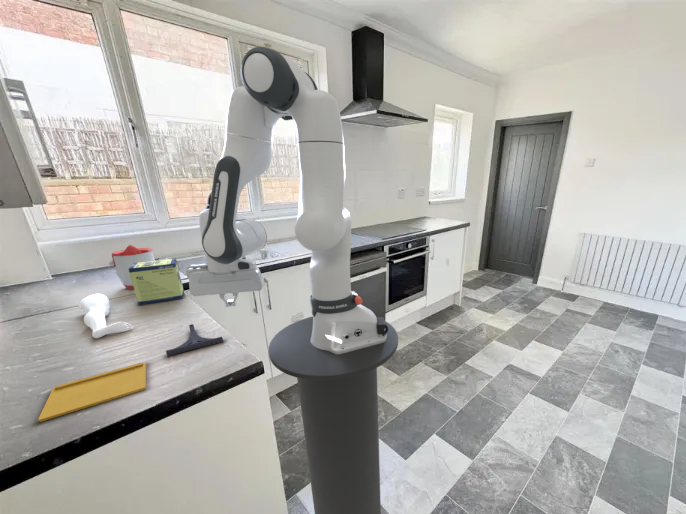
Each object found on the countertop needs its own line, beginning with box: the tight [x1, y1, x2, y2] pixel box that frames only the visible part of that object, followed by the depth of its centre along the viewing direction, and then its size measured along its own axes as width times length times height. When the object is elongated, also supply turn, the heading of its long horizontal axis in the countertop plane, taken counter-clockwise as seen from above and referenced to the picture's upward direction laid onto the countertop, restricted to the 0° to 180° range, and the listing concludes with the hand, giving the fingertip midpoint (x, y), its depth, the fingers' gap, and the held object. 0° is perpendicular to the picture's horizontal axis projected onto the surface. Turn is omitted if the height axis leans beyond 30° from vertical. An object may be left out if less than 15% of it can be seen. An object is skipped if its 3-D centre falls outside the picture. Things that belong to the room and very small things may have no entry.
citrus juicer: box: [108, 244, 156, 291], centre depth 144 cm, size 16×17×20 cm
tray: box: [37, 362, 147, 423], centre depth 73 cm, size 18×13×1 cm
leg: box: [77, 293, 134, 339], centre depth 110 cm, size 7×35×10 cm
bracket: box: [165, 323, 224, 357], centre depth 96 cm, size 14×15×3 cm
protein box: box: [128, 258, 185, 306], centre depth 129 cm, size 10×16×16 cm
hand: (231, 305), depth 96 cm, fingers closed
